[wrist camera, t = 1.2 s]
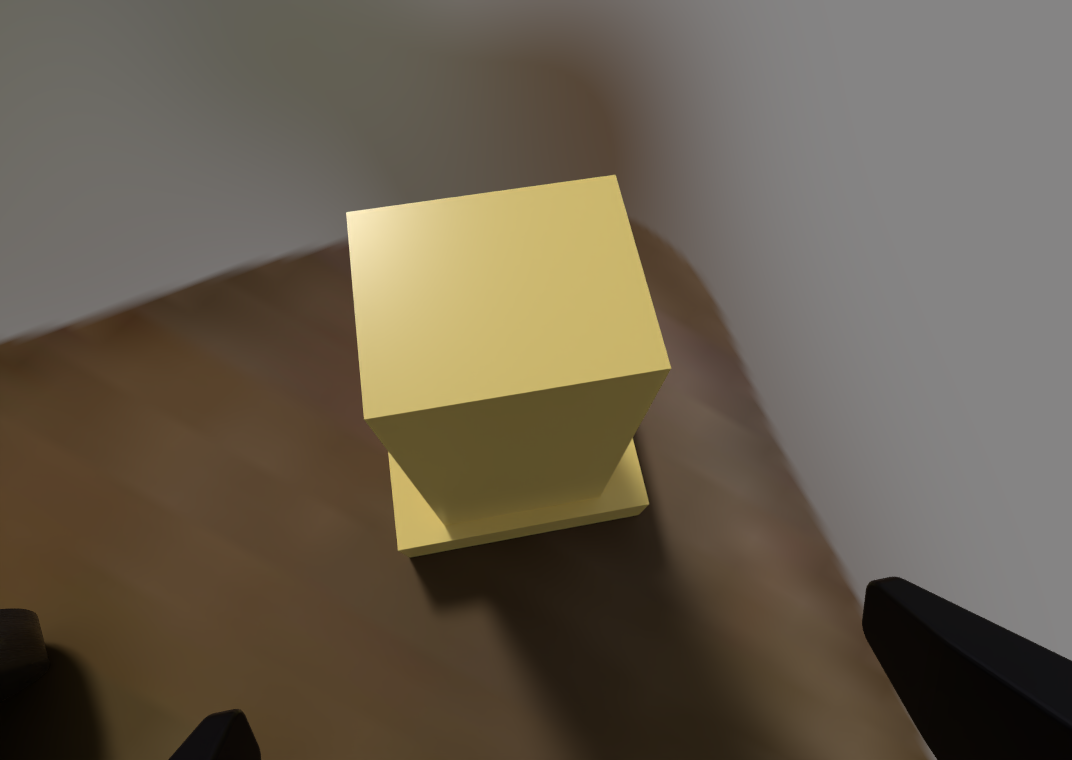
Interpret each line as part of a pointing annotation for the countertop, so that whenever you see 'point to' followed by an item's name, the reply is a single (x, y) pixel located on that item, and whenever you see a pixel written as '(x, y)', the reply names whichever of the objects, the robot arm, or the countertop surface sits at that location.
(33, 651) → the trolley
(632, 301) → the yellow block on base
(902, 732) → the countertop surface
